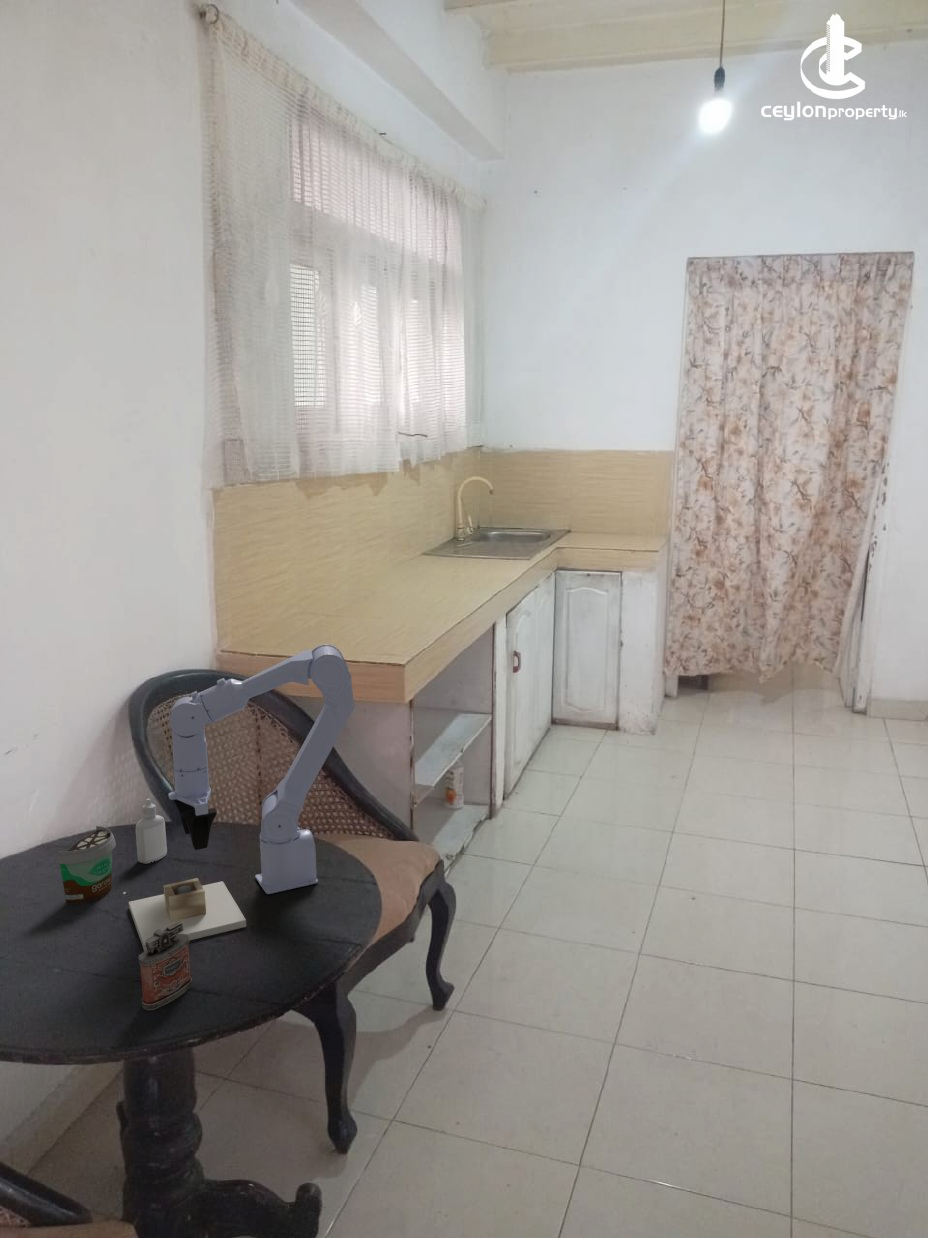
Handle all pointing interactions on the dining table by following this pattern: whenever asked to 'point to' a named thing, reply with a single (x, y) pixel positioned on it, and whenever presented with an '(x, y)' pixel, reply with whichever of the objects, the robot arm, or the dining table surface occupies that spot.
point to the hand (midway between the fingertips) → (195, 840)
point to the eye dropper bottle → (150, 835)
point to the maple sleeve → (184, 900)
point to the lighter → (165, 967)
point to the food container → (88, 867)
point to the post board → (216, 920)
